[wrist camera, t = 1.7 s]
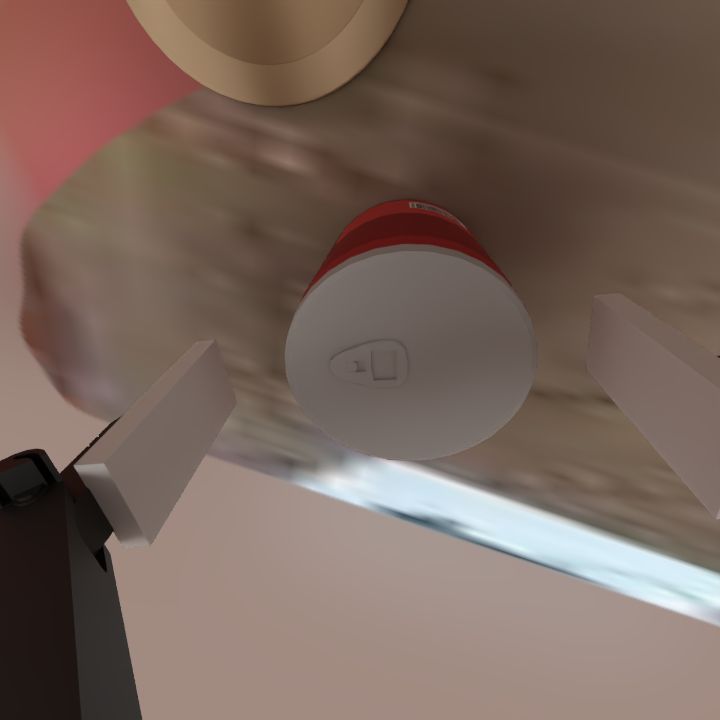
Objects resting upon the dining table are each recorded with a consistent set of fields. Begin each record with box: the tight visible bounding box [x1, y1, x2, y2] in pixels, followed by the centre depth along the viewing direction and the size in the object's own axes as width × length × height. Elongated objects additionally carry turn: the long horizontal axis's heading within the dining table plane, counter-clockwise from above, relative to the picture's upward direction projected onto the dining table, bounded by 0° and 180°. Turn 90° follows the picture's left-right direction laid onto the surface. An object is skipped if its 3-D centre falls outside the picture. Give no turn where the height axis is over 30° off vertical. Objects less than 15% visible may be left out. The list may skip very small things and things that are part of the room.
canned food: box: [285, 200, 537, 461], centre depth 18 cm, size 8×8×11 cm
